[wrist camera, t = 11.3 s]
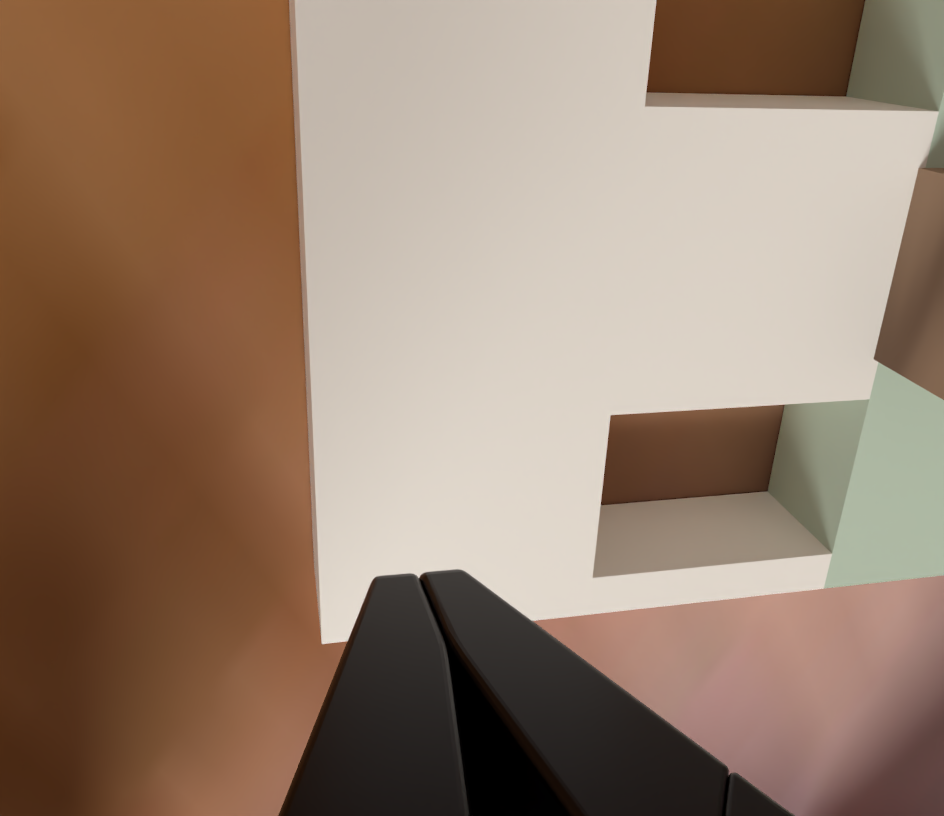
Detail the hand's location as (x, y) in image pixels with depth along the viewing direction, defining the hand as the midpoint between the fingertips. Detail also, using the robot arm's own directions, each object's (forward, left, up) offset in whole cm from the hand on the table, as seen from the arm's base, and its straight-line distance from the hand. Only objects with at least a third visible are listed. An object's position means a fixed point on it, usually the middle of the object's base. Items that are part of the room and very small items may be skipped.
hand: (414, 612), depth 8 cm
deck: (+1, -8, -12) cm, 14 cm away
